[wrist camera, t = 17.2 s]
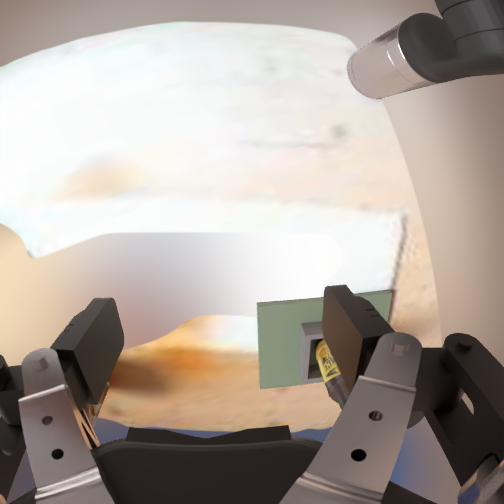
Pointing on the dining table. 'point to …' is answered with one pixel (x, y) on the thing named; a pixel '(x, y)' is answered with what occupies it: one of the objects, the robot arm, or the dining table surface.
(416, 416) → the jar
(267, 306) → the deck plate
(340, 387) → the sauce bottle
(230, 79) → the dining table surface
